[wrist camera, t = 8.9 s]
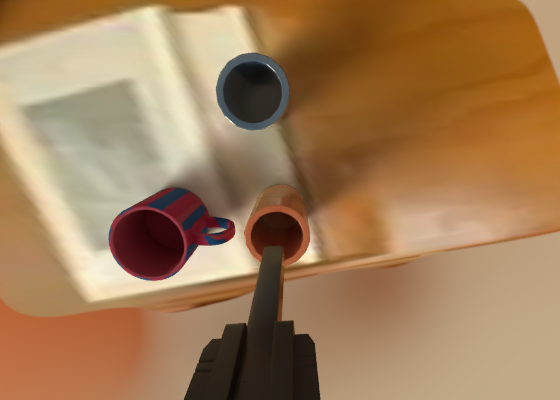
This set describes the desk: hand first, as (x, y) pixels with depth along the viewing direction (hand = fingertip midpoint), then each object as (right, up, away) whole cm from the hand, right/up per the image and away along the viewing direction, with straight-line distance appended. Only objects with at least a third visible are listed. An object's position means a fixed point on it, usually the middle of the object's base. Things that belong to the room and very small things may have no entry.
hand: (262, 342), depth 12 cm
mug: (-8, +3, +21) cm, 22 cm away
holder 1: (-1, +15, +17) cm, 23 cm away
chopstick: (0, +2, +8) cm, 8 cm away
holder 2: (+1, +5, +20) cm, 20 cm away
